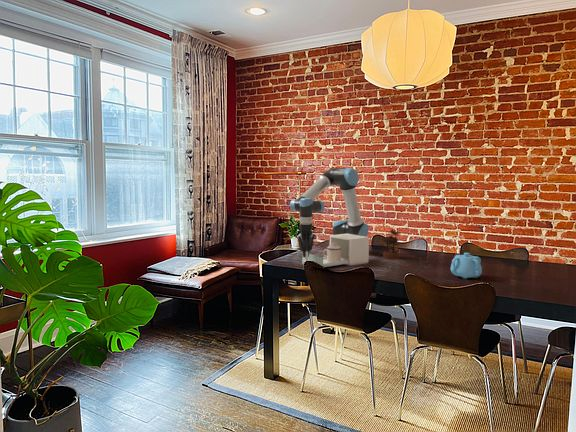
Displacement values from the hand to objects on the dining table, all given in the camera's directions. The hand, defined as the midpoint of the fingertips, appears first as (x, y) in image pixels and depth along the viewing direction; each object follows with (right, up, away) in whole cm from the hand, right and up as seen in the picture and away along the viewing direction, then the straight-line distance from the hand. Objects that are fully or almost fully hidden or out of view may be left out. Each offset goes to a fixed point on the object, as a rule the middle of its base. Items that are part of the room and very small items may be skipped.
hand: (305, 262), depth 262 cm
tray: (+13, -3, +10) cm, 17 cm away
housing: (+29, -2, +21) cm, 36 cm away
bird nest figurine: (+59, -1, +35) cm, 69 cm away
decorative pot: (+90, -6, -18) cm, 92 cm away
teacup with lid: (+17, -1, +12) cm, 21 cm away
